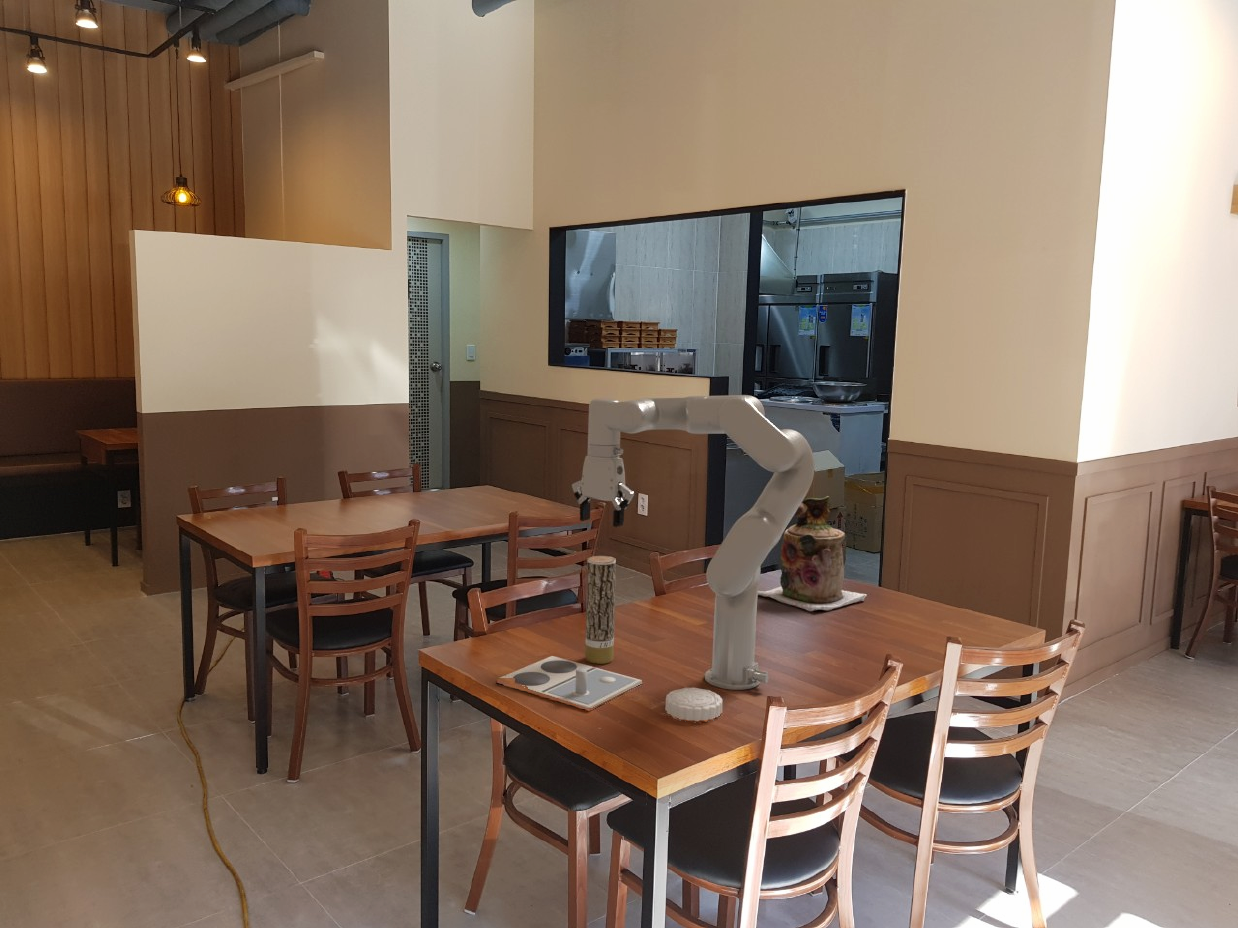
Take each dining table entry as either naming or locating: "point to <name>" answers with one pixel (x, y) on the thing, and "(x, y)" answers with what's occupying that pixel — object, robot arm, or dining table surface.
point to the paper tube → (600, 609)
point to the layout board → (573, 681)
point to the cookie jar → (812, 562)
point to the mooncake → (693, 704)
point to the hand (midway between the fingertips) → (601, 522)
